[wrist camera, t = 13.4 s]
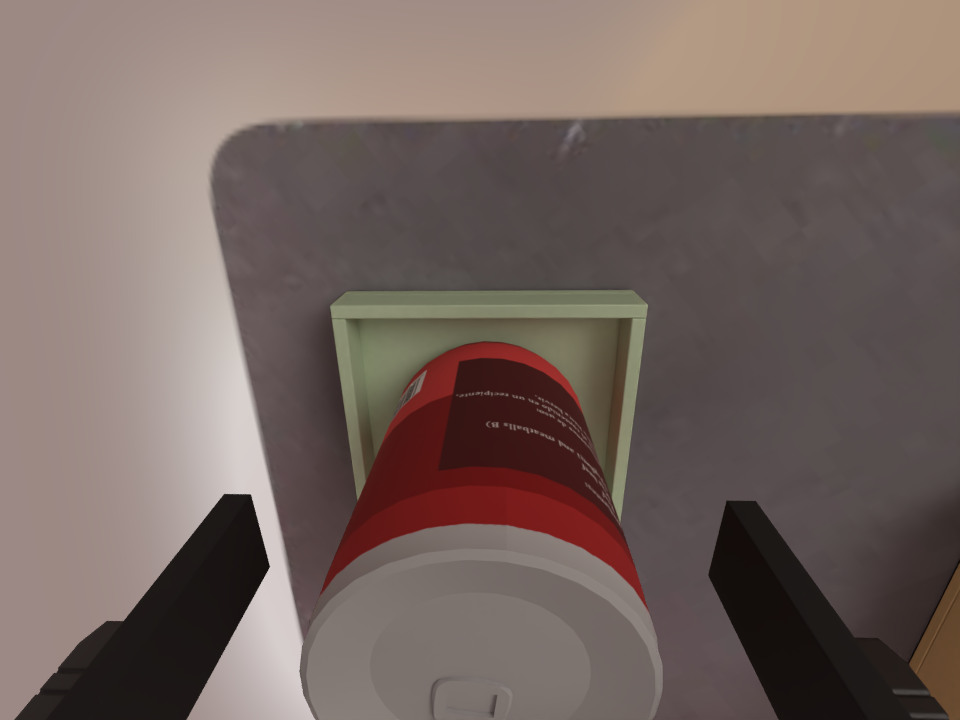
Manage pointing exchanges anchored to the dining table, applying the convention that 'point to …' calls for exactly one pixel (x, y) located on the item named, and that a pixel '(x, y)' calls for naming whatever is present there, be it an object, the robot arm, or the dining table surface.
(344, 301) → the tray
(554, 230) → the dining table surface
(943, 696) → the open wooden box
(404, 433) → the canned food
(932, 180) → the dining table surface
